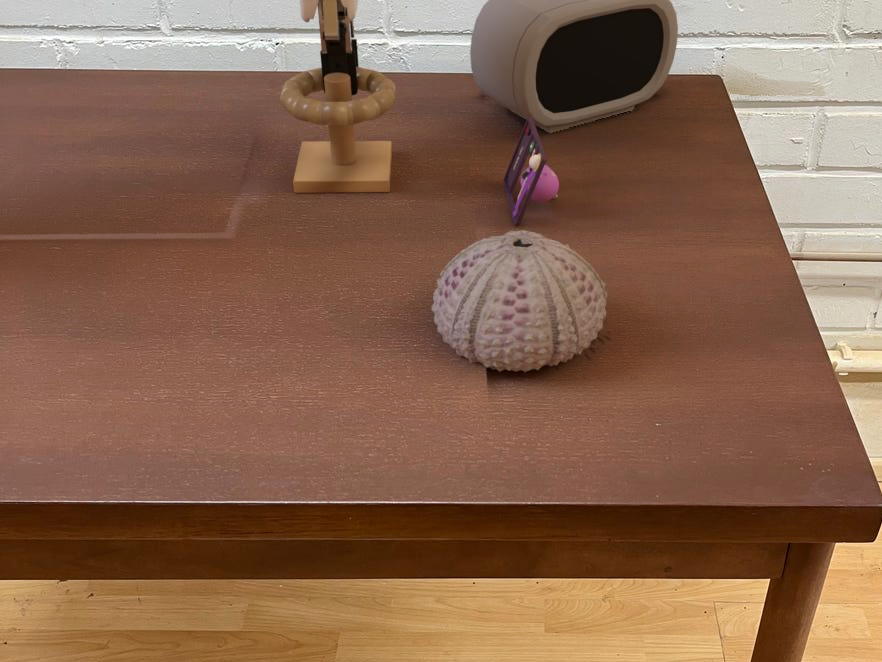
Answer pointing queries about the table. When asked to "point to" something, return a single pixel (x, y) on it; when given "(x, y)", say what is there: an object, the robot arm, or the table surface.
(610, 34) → the alarm clock
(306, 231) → the table surface
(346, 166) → the stand
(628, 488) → the table surface
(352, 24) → the robot arm
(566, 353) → the sea urchin shell
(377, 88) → the ring
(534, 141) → the purple toy package
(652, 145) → the table surface
